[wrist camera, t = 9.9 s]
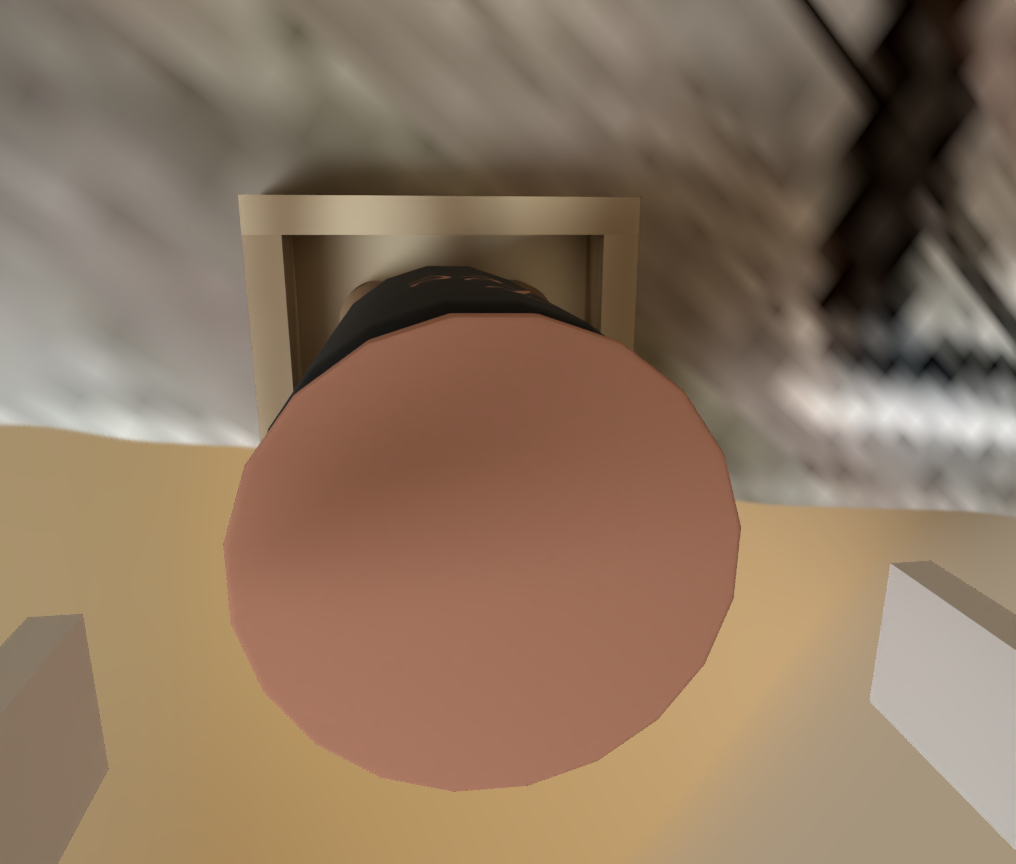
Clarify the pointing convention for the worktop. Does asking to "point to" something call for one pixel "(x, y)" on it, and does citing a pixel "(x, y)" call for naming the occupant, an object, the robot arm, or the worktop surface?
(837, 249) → the worktop surface
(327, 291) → the peg frame
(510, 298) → the coffee jar
